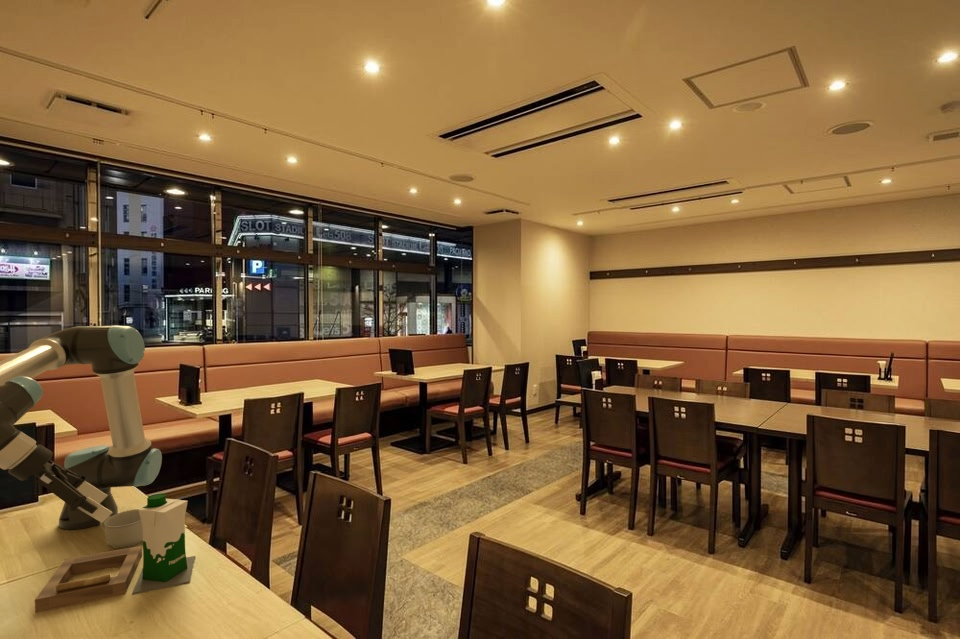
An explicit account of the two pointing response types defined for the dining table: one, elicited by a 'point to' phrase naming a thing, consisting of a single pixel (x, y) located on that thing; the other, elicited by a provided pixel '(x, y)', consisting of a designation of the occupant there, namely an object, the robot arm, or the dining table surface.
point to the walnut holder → (89, 579)
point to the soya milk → (163, 538)
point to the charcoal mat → (154, 585)
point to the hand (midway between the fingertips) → (105, 508)
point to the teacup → (123, 529)
